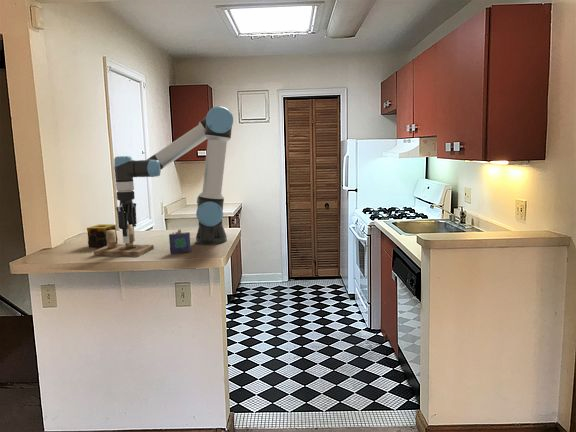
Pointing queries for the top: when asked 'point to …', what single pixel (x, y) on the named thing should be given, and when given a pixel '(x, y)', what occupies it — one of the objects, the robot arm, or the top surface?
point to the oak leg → (130, 236)
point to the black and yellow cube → (99, 235)
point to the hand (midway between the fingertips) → (129, 241)
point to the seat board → (121, 247)
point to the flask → (179, 242)
